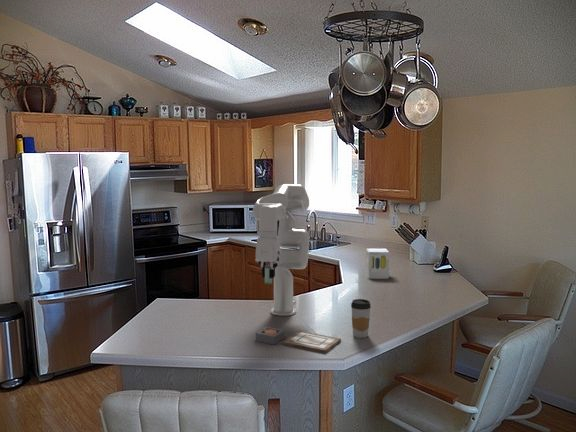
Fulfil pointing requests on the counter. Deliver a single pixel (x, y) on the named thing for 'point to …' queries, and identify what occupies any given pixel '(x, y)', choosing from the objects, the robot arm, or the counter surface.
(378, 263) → the supplement box
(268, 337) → the button housing
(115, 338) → the counter surface
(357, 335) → the coffee cup
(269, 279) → the sage green marker
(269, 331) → the button
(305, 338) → the drawing board
